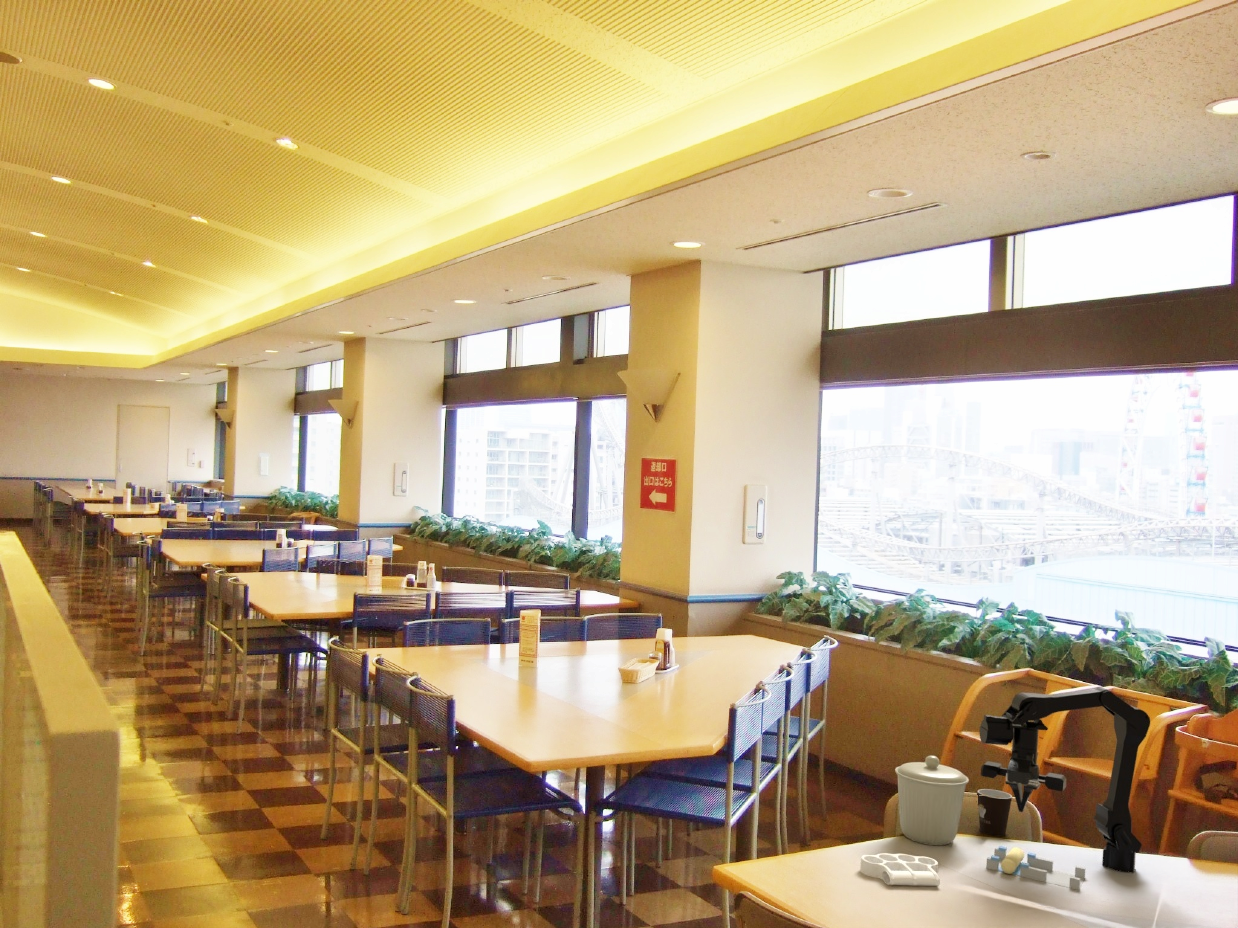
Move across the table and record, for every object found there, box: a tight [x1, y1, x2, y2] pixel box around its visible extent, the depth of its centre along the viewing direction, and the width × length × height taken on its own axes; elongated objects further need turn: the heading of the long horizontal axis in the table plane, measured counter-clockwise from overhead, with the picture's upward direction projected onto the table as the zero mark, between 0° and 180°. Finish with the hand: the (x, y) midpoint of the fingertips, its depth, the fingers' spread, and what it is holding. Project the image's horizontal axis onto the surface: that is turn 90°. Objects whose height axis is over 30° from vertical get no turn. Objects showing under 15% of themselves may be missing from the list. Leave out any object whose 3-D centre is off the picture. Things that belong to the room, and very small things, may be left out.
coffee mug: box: [976, 788, 1013, 837], centre depth 276 cm, size 12×9×10 cm
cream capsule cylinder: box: [1001, 846, 1025, 875], centre depth 243 cm, size 13×3×3 cm, turn 149°
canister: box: [894, 755, 970, 846], centre depth 265 cm, size 18×18×21 cm
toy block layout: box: [985, 845, 1086, 891], centre depth 241 cm, size 20×10×4 cm, turn 59°
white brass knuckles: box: [859, 852, 941, 887], centre depth 236 cm, size 3×18×15 cm
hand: (1021, 811), depth 250 cm, fingers closed
